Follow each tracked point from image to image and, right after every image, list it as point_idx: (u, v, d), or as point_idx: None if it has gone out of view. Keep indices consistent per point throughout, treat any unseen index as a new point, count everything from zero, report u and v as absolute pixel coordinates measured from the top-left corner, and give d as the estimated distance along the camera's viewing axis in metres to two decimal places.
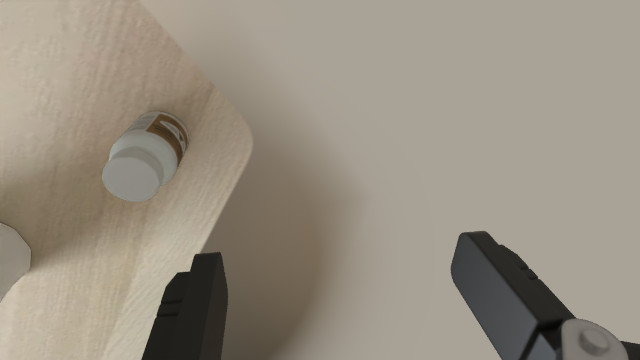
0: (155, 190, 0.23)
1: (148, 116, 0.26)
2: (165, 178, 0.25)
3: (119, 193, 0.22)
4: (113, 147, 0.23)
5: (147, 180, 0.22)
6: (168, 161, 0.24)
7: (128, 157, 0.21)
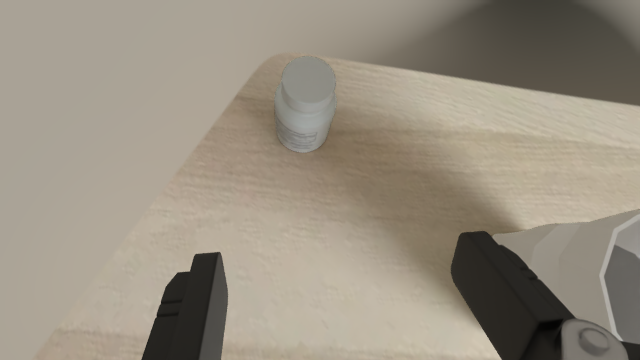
0: (313, 57, 0.21)
1: (278, 132, 0.26)
2: None
3: (328, 87, 0.21)
4: (297, 123, 0.23)
5: (303, 65, 0.21)
6: None
7: (282, 84, 0.21)
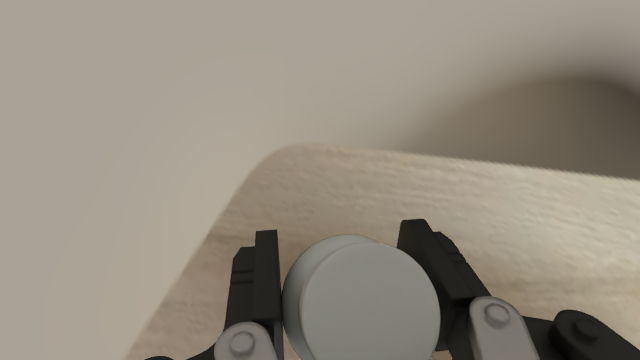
0: (378, 246, 0.09)
1: None
2: None
3: (424, 333, 0.08)
4: None
5: (356, 272, 0.08)
6: (323, 250, 0.10)
7: (304, 334, 0.08)
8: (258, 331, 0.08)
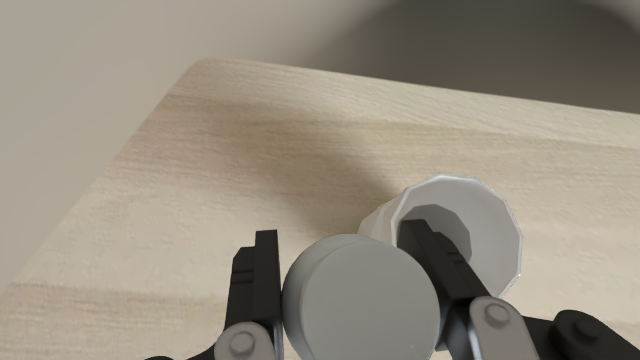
0: (378, 245, 0.09)
1: None
2: None
3: (424, 332, 0.08)
4: None
5: (356, 271, 0.08)
6: (322, 249, 0.10)
7: (304, 333, 0.08)
8: (258, 331, 0.08)
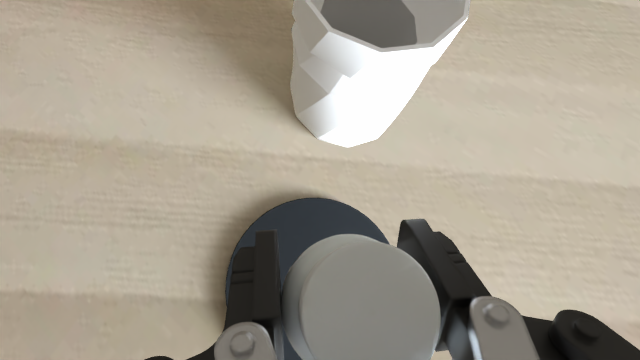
0: (378, 246, 0.09)
1: None
2: None
3: (424, 333, 0.08)
4: None
5: (356, 271, 0.08)
6: (323, 250, 0.10)
7: (304, 333, 0.08)
8: (258, 331, 0.08)
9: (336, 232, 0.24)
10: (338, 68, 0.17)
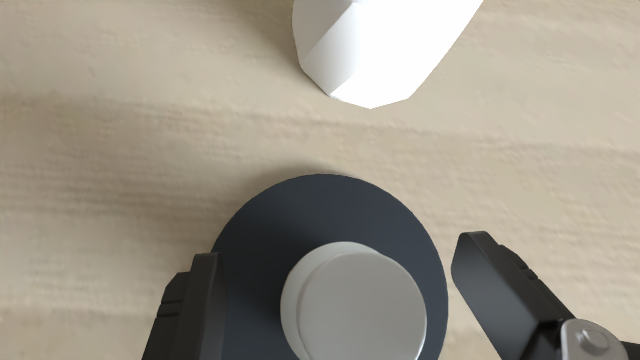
0: (370, 255, 0.09)
1: None
2: None
3: (411, 336, 0.09)
4: None
5: (349, 279, 0.09)
6: (319, 257, 0.11)
7: (301, 336, 0.09)
8: None
9: (357, 221, 0.17)
10: None
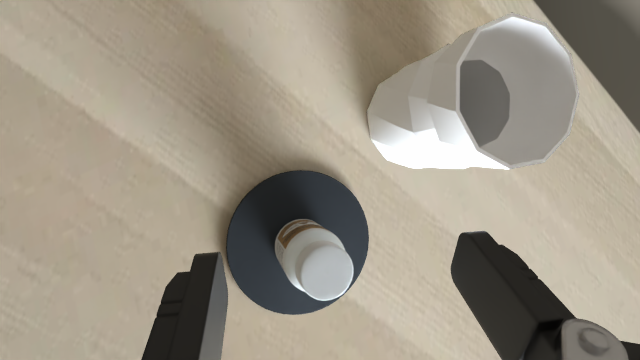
0: (344, 252, 0.21)
1: (276, 248, 0.26)
2: (337, 244, 0.23)
3: (339, 289, 0.21)
4: (294, 283, 0.22)
5: (331, 256, 0.20)
6: (320, 235, 0.23)
7: (301, 265, 0.20)
8: None
9: (338, 216, 0.29)
10: (437, 129, 0.20)
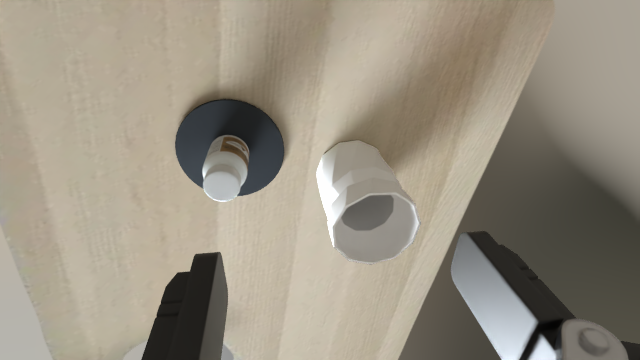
0: (239, 188, 0.32)
1: (217, 141, 0.36)
2: (242, 180, 0.34)
3: (217, 197, 0.32)
4: (203, 169, 0.33)
5: (232, 183, 0.32)
6: (240, 167, 0.34)
7: (216, 171, 0.31)
8: None
9: (262, 164, 0.40)
10: (336, 199, 0.32)
